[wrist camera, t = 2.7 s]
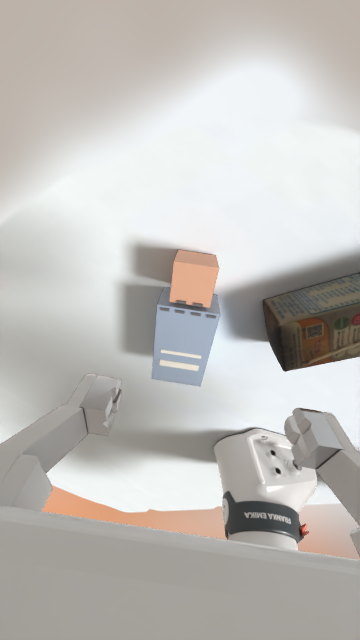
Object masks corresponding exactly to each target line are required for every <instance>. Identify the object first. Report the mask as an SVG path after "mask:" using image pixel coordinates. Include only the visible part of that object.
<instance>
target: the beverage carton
mask: <svg viewBox="0 0 360 640" xmlns="http://www.w3.org/2000/svg"><path fill="white" fill-rule="evenodd" d="M263 306H264V314H265V321H266V328H267V334H268V339H269V343H270V345H271V347H272V350H273V352H274V354H275V356H276V358H277V360H278V362H279V363H280V365H281V367H282V369H283V370H284V371H289V370H294V369H300V368H306V367H311V366H315V365H320V364H325V363H330V362H335V361H341V360H345V359H350V358H355V357H360V273H358V274H354V275H350V276H347V277H343V278H339V279H336V280H332V281H329V282H325V283H322V284H318V285H315V286H311V287H308V288H304V289H301V290H297V291H293V292H290V293H286V294H283V295H279V296H276V297H272V298H269V299H265V300H263Z"/></svg>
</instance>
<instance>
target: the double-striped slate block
mask: <svg viewBox="0 0 360 640" xmlns="http://www.w3.org/2000/svg"><path fill="white" fill-rule="evenodd" d="M170 292H171V288H168V287H164V289H163V291H162V294H161V296H160V299H159V301H158V304H157V313H156V327H155V340H154V354H153V367H152V379H156V380H163V381H169V382H176V383H182V384H189V385H195V386H201V382H202V379H203V375H204V372H205V368H206V364H207V361H208V357H209V353H210V350H211V346H212V343H213V339H214V335H215V332H216V328H217V325H218V321H219V317H220V310H219V304H218V298H217V295H213V296H212V300H211V304H210V308H207V307H199V306H193V305H188V304H180V303H175V302H169V301H170Z"/></svg>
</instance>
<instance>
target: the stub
mask: <svg viewBox="0 0 360 640" xmlns="http://www.w3.org/2000/svg"><path fill="white" fill-rule="evenodd" d="M218 271H219V266H218V262H217V258H216V255H210V254H203V253H197V252H190V251H184V250H178V252H177V255H176V257H175V260H174V265H173V274H172V283H171V292H170V301H169V302H175V303H180V304H188V305H193V306H199V307H207V308H210V304H211V300H212V296H213V292H214V288H215V283H216V279H217V275H218Z"/></svg>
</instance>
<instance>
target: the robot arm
mask: <svg viewBox="0 0 360 640" xmlns="http://www.w3.org/2000/svg"><path fill="white" fill-rule="evenodd" d="M120 386H121V379H117V378H111V377H106V376H101V375H96V374H90V373H87V374H86V375H85V376H84V377H83V379H82V380H81V382H80V383H79V385H78V387H77V388H76V390H75V391H74V393H73V394H72V396H71V398H70V399H69V401H68V402H67V404H66V405H61V406H59V407H58V408H56V409H55V410H53V411H52V412H50V413H48V414H47V415H45V416H44V417H42V418H41V419H39V420H37V421H36V422H34V423H33V424H31V425H30V426H28V427H27V428H25V429H23V430H22V431H20V432H19V433H17V434H16V435H14V436H12V437H11V438H9V439H8V440H6V441H5V442H3V443H1V444H0V640H360V560H356V559H349V558H343V557H337V556H330V555H324V554H317V553H311V552H304V551H299V550H298V546H297V543H298V542H299V541H300V540H302V539H303V538H304V536H305V535H307V534H308V533H309V531H306V532H305V529H306V527H307V525H306V524H304V525H302V526H301V525H300V522H299V514H298V513H299V512H300V510H301V509H302V508H303V506H304V505H305V503H306V502H307V501H308V499H309V498H310V497H311V495H312V494H313V492H314V491H315V489H316V487H317V475H316V471H317V473H318V474H319V475H320V476H321V478H322V479H323V480H324V481H325V483H326V484H327V485H328V486H329V488H330V489H331V490H332V492H333V493H334V494H335V495H336V497H337V498H338V499H339V500H340V502H341V503H342V504H343V505H344V507H345V508H346V509H347V511H348V512H349V513H350V514H351V516H352V517H353V518H354V519H355V521H356V522H357V523H358V524H359V526H360V453H359V452H357V451H356V450H355V448H354V446H353V445H352V443H351V442H350V440H349V438H348V437H347V435H346V434H345V432H344V430H343V429H342V427H341V426H340V424H339V422H338V421H337V419H336V418H335V416H334V415H333V414H332V413H327V412H321V411H316V410H309V409H303V408H296V409H294V410H293V412H292V413H293V416H290V417H288V418H287V419H286V421H285V425H284V430H285V434H286V436H284V435H281V434H277V433H273V432H270V431H266V430H263V429H252V430H250V431H248V432H246V433H243V434H238V435H233V436H229V437H226V438H224V439H222V440H220V441H219V442H218V443H217V444H216V445H215V447H214V454H215V457H216V460H217V464H218V467H219V472H220V477H221V482H222V488H223V501H222V506H223V521H224V526H225V535H226V538H227V539H228V540H226V539H219V538H212V537H206V536H199V535H193V534H186V533H180V532H173V531H167V530H160V529H153V528H147V527H141V526H134V525H128V524H120V523H114V522H108V521H101V520H95V519H88V518H82V517H75V516H68V515H62V514H55V513H49V512H42V510H43V508H44V506H45V504H46V501H47V499H48V497H49V495H50V493H51V491H52V484H51V482H50V480H49V479H48V477H47V475H46V473H47V472H48V471H49V470H50V469H51V468H52V467H53V466H54V465H56V464H57V463H58V462H59V461H60V460H61V459H62V458H63V457H64V456H65V455H66V454H67V453H68V452H69V451H71V450H72V449H73V448H74V447H75V446H76V445H77V444H78V443H79V442H80V441H81V440H82V439H83V438H84V437H85V436H87V435H88V433H91V434H99V435H106V436H108V433H109V431H110V428H111V425H112V423H113V414H114V413H115V412H116V411H117V409H118V407H119V403H120V399H121V390H120ZM315 469H316V471H315ZM350 536H351V538H352V541H353V543H354V545H355V547H356V550H357V552H358V554H359V557H360V527H359V528H357V529H354V530H352V531H351V533H350Z"/></svg>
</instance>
